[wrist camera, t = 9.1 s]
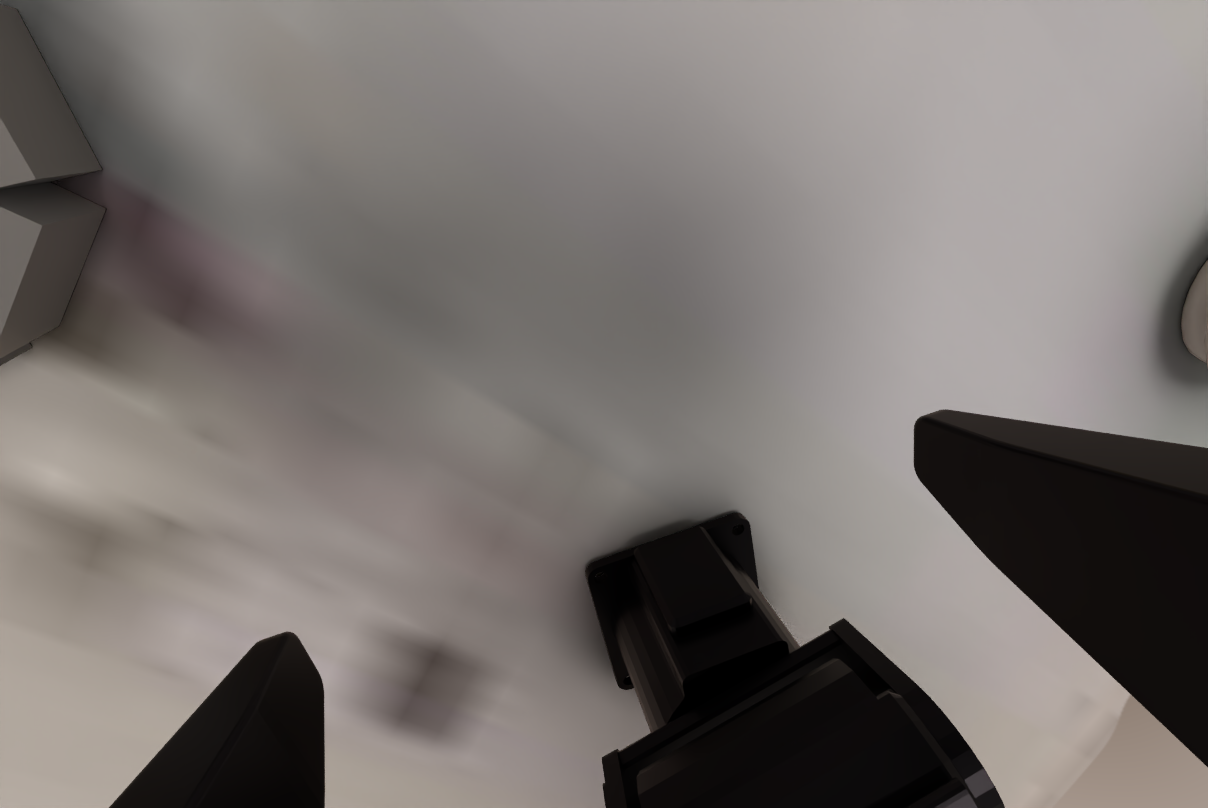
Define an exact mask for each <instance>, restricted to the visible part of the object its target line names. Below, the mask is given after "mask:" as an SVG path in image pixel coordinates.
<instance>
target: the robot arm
mask: <svg viewBox="0 0 1208 808" xmlns="http://www.w3.org/2000/svg"><path fill="white" fill-rule="evenodd" d="M914 468H915V472H916V474H917V476H918V478H919V480H920V481H921V482H922V484H923V485H924V486H925V487H926V488H927V489H928V491H929V492H930V493H931V494H932V495H933V496H934V497H935V499H936V500H937V501H938V502H939V503H940V504H941V506H942V507H943V508H944V509H945V510H946V511H947V512H948V514H949V515H950V516H951V517H952V518H953V519H954V521H955V522H956V523H957V524H958V525H959V526H960V527H961V529H962V530H963V531H964V532H965V533H966V534H967V536H968V537H969V538H970V539H971V540H972V541H973V542H974V544H975V545H976V546H977V547H978V548H979V549H980V550H981V551H982V552H983V553H984V555H985V556H986V557H987V558H988V559H989V560H990V561H991V562H992V563H993V564H994V565H995V566H996V567H997V568H998V569H999V570H1000V571H1001V572H1002V573H1003V574H1004V575H1006V576H1007V577H1008V578H1009V579H1010V580H1011V581H1012V582H1013V583H1014V584H1015V585H1016V586H1017V587H1018V588H1019V589H1020V590H1021V591H1022V592H1023V593H1025V594H1026V595H1027V596H1028V597H1029V598H1030V599H1031V600H1032V601H1033V602H1034V603H1035V604H1036V605H1037V606H1038V607H1039V608H1040V609H1041V610H1042V611H1043V612H1045V613H1046V614H1047V615H1048V616H1049V617H1050V618H1051V619H1052V620H1053V621H1054V622H1055V623H1056V624H1057V625H1058V626H1059V627H1060V628H1061V629H1062V630H1064V631H1065V632H1066V633H1067V634H1068V635H1069V636H1070V637H1071V638H1072V639H1073V640H1074V641H1075V642H1076V643H1077V644H1078V645H1079V646H1080V647H1081V648H1083V649H1084V650H1085V651H1086V652H1087V653H1088V654H1089V655H1090V656H1091V657H1092V658H1093V659H1094V660H1095V661H1096V662H1097V663H1098V664H1099V665H1100V666H1101V667H1103V668H1104V669H1105V670H1106V671H1107V672H1108V673H1109V674H1110V675H1111V676H1112V677H1113V678H1114V679H1115V680H1116V681H1117V682H1118V683H1119V684H1120V685H1122V686H1123V687H1124V688H1125V689H1126V690H1127V691H1128V692H1129V693H1130V694H1131V695H1132V696H1133V697H1134V698H1135V699H1136V700H1137V701H1138V702H1140V703H1141V704H1142V705H1143V706H1144V707H1145V708H1146V709H1147V710H1148V711H1149V712H1150V713H1151V714H1152V715H1153V716H1154V717H1155V718H1156V719H1157V720H1159V721H1160V722H1161V723H1162V724H1163V725H1164V726H1165V727H1166V728H1167V729H1168V730H1169V731H1170V732H1171V733H1172V734H1173V735H1174V736H1175V737H1176V738H1178V740H1180V741H1181V742H1182V743H1183V744H1184V745H1185V746H1186V747H1187V748H1188V749H1189V750H1190V751H1191V752H1192V753H1193V754H1195V756H1196V757H1197V758H1199V759H1200V760H1201V761H1202V762H1203V763H1204V764H1205V765H1206V766H1207V767H1208V448H1204V447H1197V446H1190V445H1183V444H1177V443H1170V442H1163V441H1156V440H1150V439H1143V438H1136V437H1129V436H1122V435H1116V434H1109V433H1102V432H1095V431H1089V430H1082V429H1075V428H1068V427H1062V426H1055V425H1048V424H1041V423H1035V422H1028V421H1021V420H1014V419H1007V418H1001V417H994V416H987V415H980V414H974V413H967V412H960V411H953V410H939V411H936V412H933V413H930V414H927V415H924V416H921V417H920V418H918V419H917V421H916V423H915V425H914ZM737 524H739V526H738V527H737V528H735V529H733V527H734V526H735V525H737ZM600 572H604V574H603V575H601V576H599V577H595V576H596V574H598V573H600ZM585 575H586V579H587V582H588V586H589V589H590V593H591V596H592V600H593V603H594V607H595V610H596V613H597V617H598V620H599V624H600V627H601V631H602V634H603V637H604V641H605V644H606V648H607V651H608V655H609V658H610V662H611V665H612V668H613V672H614V675H615V679H616V681H617V684H618V686H619V688H621V689H624V690H628V689H632V688H634V689H635V691H636V694H637V697H638V699H639V702H640V705H641V707H642V710H643V712H644V715H645V718H646V720H647V723H648V726H649V728H650V731H651V733H650V734H648V735H647V736H645V737H643V738H642V739H640V740H638V741H636V742H635V743H633V744H631V745H629V746H628V747H626V748H624V749H622V750H621V751H619V750H618V749H616V750H614V751H613V752H611V753H609V754H607V755H606V756H604V757H602V763H603V771H604V778H605V783H603V791H604V798H605V806H606V808H1005V807H1004V804H1003V802H1002V800H1001V798H1000V796H999V794H998V792H997V790H996V788H995V786H994V784H993V783H992V781H991V779H990V777H989V776H988V774H987V772H986V771H985V769H984V767H983V766H982V764H981V763H980V761H979V760H978V758H977V757H976V755H975V754H974V752H973V751H972V749H971V748H970V747H969V745H968V744H967V743H966V741H965V740H964V738H963V737H962V736H961V734H960V733H959V732H958V730H957V729H956V728H955V726H954V725H953V724H952V723H951V721H950V720H949V719H948V718H947V716H946V715H945V714H944V713H943V712H942V710H941V709H940V708H939V707H938V706H937V705H936V704H935V702H934V701H933V700H932V699H931V698H930V697H929V696H928V695H927V694H926V693H925V692H924V691H923V690H922V689H921V688H920V687H919V686H918V685H917V684H916V683H915V682H914V681H913V680H911V679H910V678H909V677H908V676H907V675H906V674H905V673H904V672H903V671H902V670H900V669H899V668H898V667H897V666H896V665H895V664H894V663H893V662H892V661H891V660H889V659H888V658H887V657H886V656H885V655H884V654H883V653H882V652H881V651H880V650H878V649H877V648H876V647H875V646H874V645H873V644H872V643H871V642H870V641H869V640H867V639H866V638H865V637H864V636H863V635H862V634H861V633H860V632H859V631H858V630H856V629H855V628H854V627H853V626H852V625H851V624H850V623H849V622H848V621H847V620H845V619H844V618H843V619H841V620H839V621H838V622H836V623H834V624H833V625H831V626H829V629H830V630H829V631H827V632H825V633H823V634H822V635H820V636H818V637H816V638H815V639H813V640H811V641H809V642H808V643H806V644H804V645H803V646H801V647H800V646H799V644H798V643H797V642H796V640H795V639H794V638H793V636H792V635H791V633H790V632H789V631H788V629H787V628H786V627H785V625H784V624H783V622H782V621H781V620H780V618H779V617H778V616H777V614H776V613H775V611H774V610H773V609H772V607H771V606H770V604H769V603H768V602H767V600H766V599H765V598H764V596H763V595H762V593H761V592H760V591H759V587H758V580H757V573H756V565H755V558H754V550H753V543H752V535H751V528H750V524H749V522H748V520H747V519H746V518H745V517H744V516H743V515H742V514H740V513H732V514H729V515H726V516H723V517H720V518H718V519H715V520H712V521H709V522H706V523H703V524H700V525H697V526H695V527H692V528H689V529H686V530H683V531H680V532H677V533H674V534H671V535H669V536H666V537H663V538H660V539H657V540H654V541H651V542H648V543H646V544H643V545H640V546H637V547H634V548H631V549H628V550H625V551H623V552H620V553H617V554H614V555H611V556H608V557H605V558H602V559H600V560H597V561H594V562H592V563H591V564H590V565H589V566H588V567H587V569H586V571H585ZM627 676H629V677H627ZM109 808H325V746H324V688H323V683H322V679H321V676H320V674H319V672H318V670H317V669H316V667H315V665H314V664H313V662H312V660H311V658H310V657H309V655H308V653H307V652H306V650H305V648H304V646H303V645H302V643H301V641H300V640H299V638H298V637H297V636H296V635H295V634H294V633H292V632H284V633H281V634H278V635H275V636H272V637H269V638H266V639H263V640H260V641H259V642H257V643H256V644H255V645H254V646H253V647H252V648H251V649H250V650H249V651H248V652H247V654H246V655H245V656H244V657H243V658H242V659H241V660H240V661H239V662H238V664H237V665H236V666H235V667H234V668H233V669H232V670H231V671H230V673H229V674H228V675H227V676H226V677H225V678H224V679H223V680H222V682H221V683H220V684H219V685H218V686H217V687H216V688H215V689H214V691H213V692H212V693H211V694H210V695H209V696H208V697H207V698H206V700H205V701H204V702H203V703H202V704H201V705H200V706H199V707H198V708H197V710H196V711H195V712H194V713H193V714H192V715H191V716H190V717H189V719H188V720H187V721H186V722H185V723H184V724H183V725H182V726H181V728H180V729H179V730H178V731H177V732H176V733H175V734H174V735H173V737H172V738H171V739H170V740H169V741H168V742H167V743H166V744H165V745H164V747H163V748H162V749H161V750H160V751H159V752H158V753H157V754H156V756H155V757H154V758H153V759H152V760H151V761H150V762H149V763H148V765H147V766H146V767H145V768H144V769H143V770H142V771H141V772H140V773H139V775H138V776H137V777H136V778H135V779H134V780H133V781H132V782H131V784H130V785H129V786H128V787H127V788H126V789H125V790H124V791H123V793H122V794H121V795H120V796H119V797H118V798H117V799H116V800H115V801H114V803H113V804H112V805H111V806H110V807H109Z"/></svg>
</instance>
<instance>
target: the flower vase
mask: <svg viewBox="0 0 1208 808" xmlns="http://www.w3.org/2000/svg"><path fill="white" fill-rule="evenodd" d="M1181 328H1182V336H1183V341H1184V343H1185V345H1186V347H1187V349H1188V350H1189V352H1190V353H1191V354H1193V355H1194V356H1195V357H1197V358H1198V359H1199V360H1201V361H1203V362H1205V363H1207V368H1208V260H1207V261H1206V263H1205V264H1204V265H1203V267H1202V268H1201V269H1200V271H1199V272H1198V274H1197V276H1196V278H1195V280H1194V282H1193V284H1192V285H1191V287H1190V289H1189V292H1188V295H1187V298H1186V301H1185V304H1184V307H1183V313H1182V320H1181Z"/></svg>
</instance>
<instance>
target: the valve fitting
mask: <svg viewBox="0 0 1208 808" xmlns="http://www.w3.org/2000/svg"><path fill="white" fill-rule="evenodd" d="M99 170H102V168H101V166H100V165H99V163H98V161H97V159H96V157H95V155H94V153H93V151H92V150H91V148H90V146H89V144H88V142H87V140H86V138H85V136H84V135H83V133H82V131H81V129H80V127H79V125H78V123H77V121H76V120H75V118H74V116H73V114H72V112H71V110H70V108H69V106H68V105H67V103H66V101H65V99H64V97H63V95H62V93H61V91H60V90H59V88H58V86H57V84H56V82H55V80H54V78H53V76H52V75H51V73H50V71H49V69H48V67H47V65H46V63H45V61H44V60H43V58H42V56H41V54H40V52H39V50H38V48H37V46H36V45H35V43H34V41H33V39H32V37H31V35H30V33H29V31H28V30H27V28H26V26H25V24H24V22H23V20H22V18H21V16H20V15H19V13H18V11H17V9H15V8H11V7H8V6H4V5H1V4H0V366H1V365H2V364H4V363H6V362H8V361H9V360H11V359H13V358H15V357H16V356H18V355H20V354H22V353H23V352H25V351H27V350H29V349H30V348H32V346H31V345H30V343H29V342H31V341H33V340H35V339H36V338H38V337H40V336H42V335H44V334H45V333H47V332H49V331H51V330H53V329H54V328H56V327H58V326H59V325H60V323H61V320H62V318H63V315H64V313H65V310H66V308H67V305H68V303H69V300H70V298H71V295H72V293H73V290H74V288H75V285H76V283H77V280H78V278H79V275H80V273H81V270H82V268H83V265H84V263H85V260H86V258H87V255H88V253H89V250H90V248H91V245H92V243H93V240H94V238H95V235H96V233H97V230H98V228H99V225H100V223H101V220H102V218H103V215H104V213H105V210H106V208H104V207H102V206H100V205H97V204H95V203H93V202H91V201H89V200H87V199H85V198H83V197H80V196H78V195H76V194H74V193H72V192H70V191H68V190H66V189H64V188H61V187H59V186H57V185H55V184H53V183H51V182H52V181H56V180H60V179H65V178H69V177H73V176H78V175H82V174H86V173H91V172H95V171H99Z"/></svg>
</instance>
